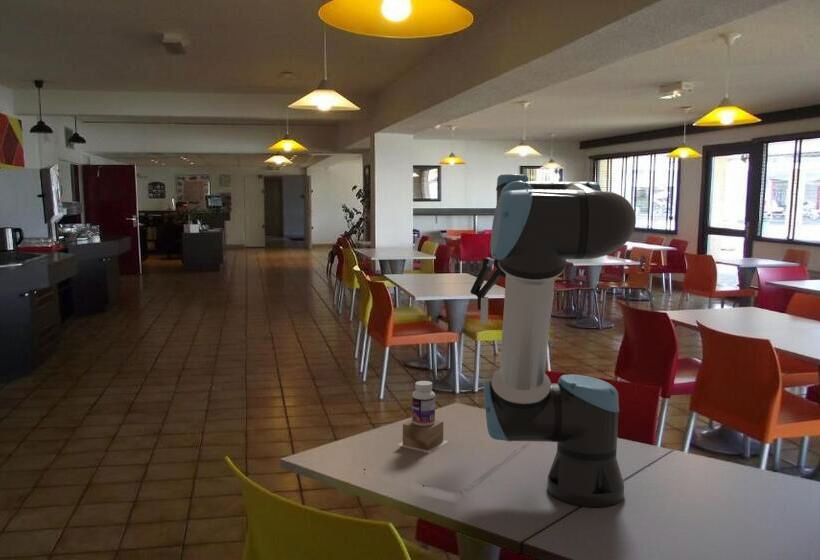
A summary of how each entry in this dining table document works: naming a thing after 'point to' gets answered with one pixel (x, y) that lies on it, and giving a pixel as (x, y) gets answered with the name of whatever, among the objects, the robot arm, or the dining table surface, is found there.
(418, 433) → the walnut block
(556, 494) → the robot arm
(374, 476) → the dining table surface
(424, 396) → the pill bottle
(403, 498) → the dining table surface
